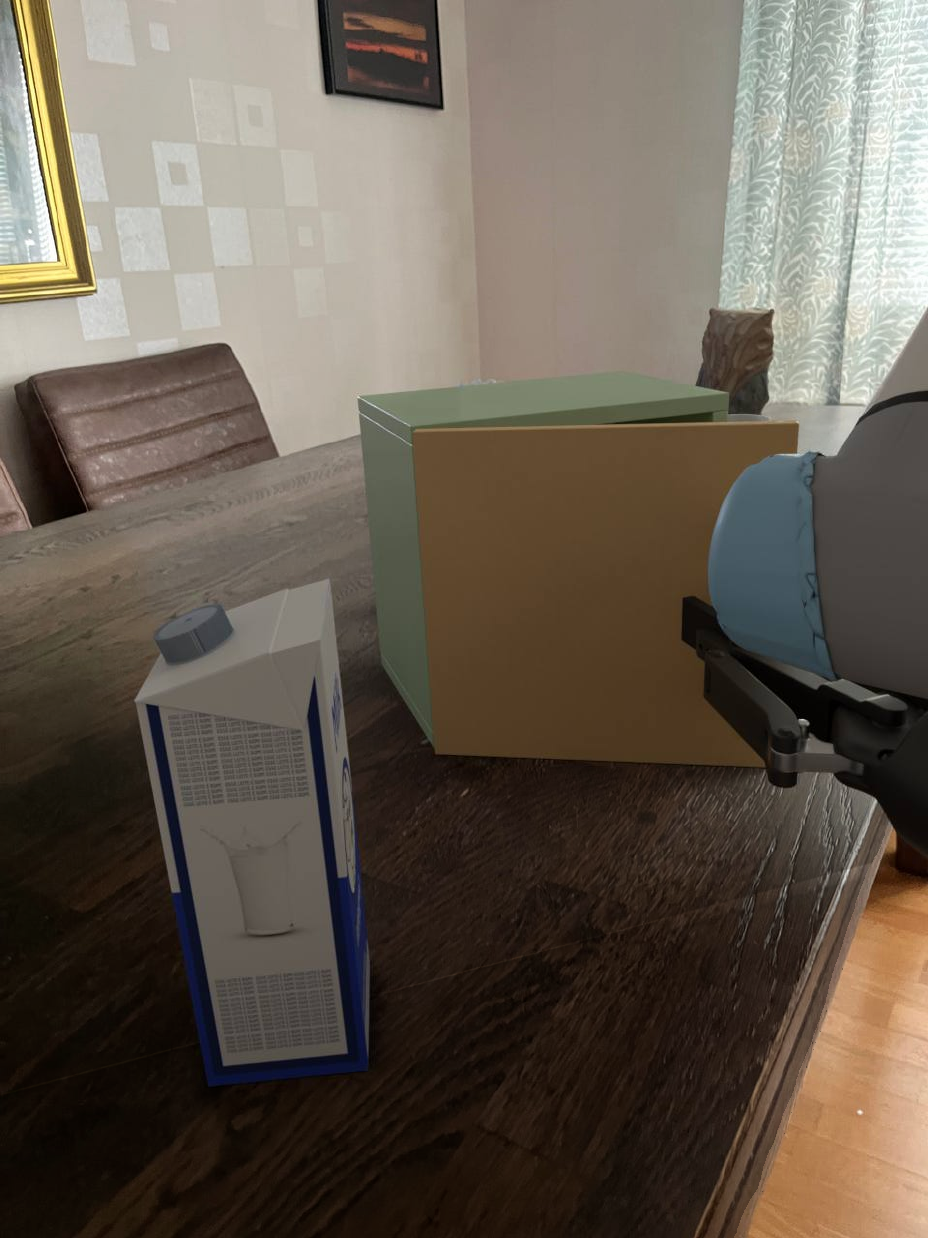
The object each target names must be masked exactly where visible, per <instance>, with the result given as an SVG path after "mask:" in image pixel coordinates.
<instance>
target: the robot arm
mask: <svg viewBox="0 0 928 1238" xmlns="http://www.w3.org/2000/svg"><path fill="white" fill-rule="evenodd" d="M708 584H709V593H710V599H711V603H712V605H713V607H712V606H710V605H709V604H707V603H705V602H704V601H702V600H700V599H699V598H697V597H695V596H689V597H683V599H682V634H681V640H682V641H684V642H685V643H686V644H688V645H689V646H691V647H692V648H694V649H695V650H696V654H697V657H698V658H700V659H701V660H703V661H704V662H705V665H704V692H703V697H704V698H705V700H706V701H707V702H708V703H709V704H710V705H711V706H712V707H713V708H714V709H715V710H716V711H717V712H718V713H719V714H720V715H721V716H722V717H723V718H724V720H725V721H726V722H727V723H728V724H729V725H730V726H731V727H732V728H733V729H734V730H735V731H736V732H737V733H738V734H739V735H740V736H741V737H742V738H743V739H744V741H745V742H746V743H747V744H748V745H749V746H750V747H751V748H752V749H753V750H754V751H755V752H756V753H757V754H758V755H759V756H760V757H761V758H762V759H763V761H764V762H765V766H766V768H765V770H766V777H767V780H768V782H769V783H770V784H771V785H772V786H774V787H777V788H781V789H790V788H791V789H792V788H794V787H796V786H797V785H798V776H799V774H804V773H819V774H820V773H821V774H833V777H834V778H835V779H836V780H837V782H839V783H840V784H842V785H843V786H845V787H847V788H850V789H853V790H856V791H859V792H862V793H864V794H866V795H868V796H870V797H872V798H874V799H875V801H877V803H878V804H879V806H880V808H881V809H882V811H883V812H884V814H885V817H886V818H887V820H888V821H889V823H890V824H891V826H892V828H893V829H894V830H893V831H895V832H896V834H897V835H898V836H899V837H900V838H901V840H902V841H904V842H905V843H906V844H907V845H908V846H910V847H911V848H912V849H914V850H915V851H916V852H918V853H919V854H920V855H921V856H923V857H924V858H926V860H928V304H926V306H925V308H924V310H923V312H922V313H921V315H920V317H919V319H918V320H917V322H916V323H915V325H914V327H913V329H912V331H911V333H910V334H909V335H908V337H907V339H906V341H905V342H904V344H903V346H902V347H901V349H900V351H899V353H898V354H897V356H896V357H895V359H894V361H893V363H892V364H891V365H890V368H889V369H888V371H887V373H886V374H885V376H884V377H883V379H882V381H881V383H880V384H879V386H878V388H877V389H876V392H875V393H874V394H873V396H872V398H871V400H870V402H868V405H867V407H866V408H865V410H864V411H863V413H862V415H861V416H860V417H858V420H857V421H856V423H855V424H854V427H853V429H852V430H851V431H850V433H849V434H848V436H847V437H846V439H845V440H844V442H843V443H842V445H841V446H840V448H839V450H838V452H837V454H835V455H824V454H822V452H820V451H816V450H808V451H807V452H805V453H797V454H776V455H771V456H768V457H766V458H764V459H762V461H761V462H759V463H758V464H755V465H750V466H749V467H748V468H746V469H745V470H744V471H743V472H742V474H741V475H740V476H739V477H738V479H737V480H736V481H735V483H734V484H733V485H732V487H731V489H730V491H729V492H728V494H727V496H726V498H725V500H724V502H723V504H722V507H721V510H720V513H719V515H718V518H717V521H716V524H715V528H714V532H713V536H712V540H711V546H710V552H709V562H708Z"/></svg>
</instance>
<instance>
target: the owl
mask: <svg viewBox="0 0 928 1238" xmlns="http://www.w3.org/2000/svg"><path fill="white" fill-rule="evenodd" d="M708 310H709V311H708V315H709V317H710V318H709V320H708V321H707V322H708V323H707V325H706V329H705V330H704V332H703V336H702V340H701V346H702V347H701V355H702V356H701V357H702V363H701V365H700V369H699V371H698V374H697V379H696V381H695V385H694V386H698V387H703V388H708V389H713V390H718V391H723V392H727V393H729V405H728V410H727V411H728V415H729V414H751V415H762V416H763V414H762V412H763V410H764V408H765V407H766V405H767V404H768V403H769V401H770V391H769V389H770V388H769V382H770V380H769V375H768V374H769V370H770V367H771V365H772V361H773V360H774V359H775V358H774V356H775V350H774V344H775V334H774V333H775V332H774V331H773V330H774V329H773V320H774V315H775V312H776V311H775V309H774V308H770V309H768V310H767V309H764V308H763V309H762V308H760V307H756V306H755V307H748V308H744V309H735V308H730V309H729V308H728V309H727V308H724V307H711V308H710V309H708Z"/></svg>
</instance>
